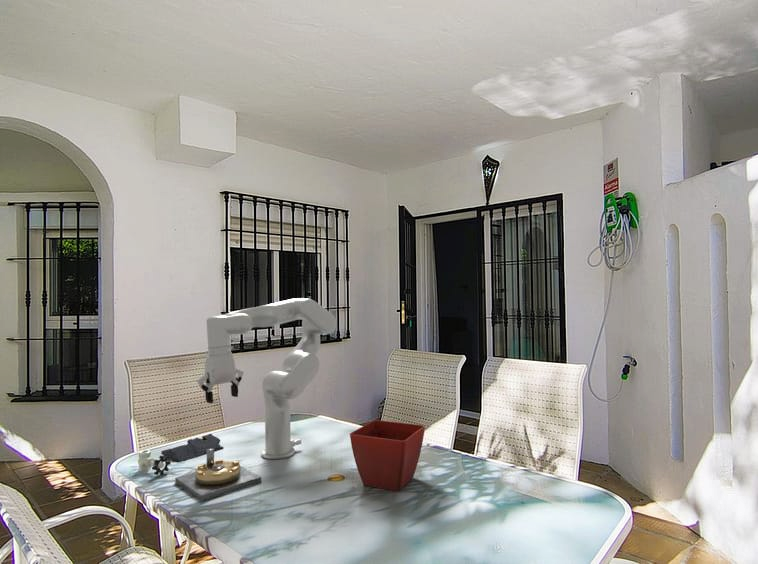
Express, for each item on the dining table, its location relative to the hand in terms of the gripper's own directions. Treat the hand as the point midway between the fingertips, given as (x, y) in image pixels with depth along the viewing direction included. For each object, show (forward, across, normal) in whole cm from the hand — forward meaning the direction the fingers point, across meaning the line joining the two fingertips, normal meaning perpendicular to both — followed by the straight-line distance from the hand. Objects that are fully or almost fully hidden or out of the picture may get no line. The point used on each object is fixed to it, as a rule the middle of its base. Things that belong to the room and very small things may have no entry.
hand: (222, 399), depth 170 cm
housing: (+24, +8, +9) cm, 27 cm away
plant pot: (+26, -27, +52) cm, 64 cm away
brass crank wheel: (+22, +8, +9) cm, 25 cm away
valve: (+24, +18, -18) cm, 35 cm away
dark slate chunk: (+25, -2, -28) cm, 38 cm away
